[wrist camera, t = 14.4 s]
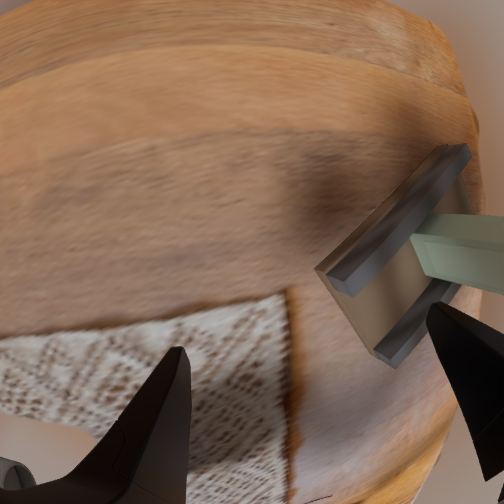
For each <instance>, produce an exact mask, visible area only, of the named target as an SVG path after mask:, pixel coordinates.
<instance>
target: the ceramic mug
mask: <svg viewBox="0 0 504 504" xmlns="http://www.w3.org/2000/svg"><path fill="white" fill-rule="evenodd" d="M32 486H36V482H35V479H34V477H33V475H32V474H31V472H30V471H29V469H28V468H27V467H26V466H25V465H23V464H21V463H19V462H16V461H12V460H9V459H5V458H3V457H0V487H1V488H3V489H6V490H19V489H23V488H28V487H32Z"/></svg>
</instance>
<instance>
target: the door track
mask: <svg viewBox="0 0 504 504" xmlns="http://www.w3.org/2000/svg"><path fill="white" fill-rule="evenodd" d="M471 157H472V156H471V153H470V151H469V148H468V146H467V143H464V144H458V145H452V146H448V144H445V145H440V146H437V147H436V148H435V149H434V150H433V152H432V153H431V154H430V155H429V156H428V157H427V158H426V159H425V160H424V161H423V162H422V163H421V164H420V166H419V167H418V168H417V169H416V170H415V171H414V172H413V173H412V174H411V175H410V176H409V177H408V178H407V179H406V180H405V181H404V182H403V183H402V184H401V185H400V186H399V187H398V188H397V189H396V190H395V192H394V193H393V194H392V195H391V196H390V197H389V198H388V199H387V200H386V201H385V202H384V203H383V204H382V205H381V206H380V207H379V208H378V209H377V210H376V211H375V212H374V213H373V214H372V215H371V216H369V217H368V218H367V219H366V220H365V221H364V222H363V223H362V224H361V225H360V226H359V227H358V228H357V229H356V230H355V231H354V232H353V233H352V234H351V235H350V236H349V237H348V238H347V239H346V240H345V241H344V242H342V243H341V244H340V245H339V246H338V247H337V248H336V249H335V250H334V251H333V252H332V253H331V254H330V255H329V256H328V257H326V258H325V259H324V260H323V261H322V262H321V263H320V264H319V265H318V266H317V267H316V268H314V270H315V271H316V272H317V274H318V275H319V277H320V278H321V280H322V281H323V283H324V284H325V286H326V287H327V289H328V290H329V292H330V293H331V295H332V296H333V298H334V299H335V301H336V302H337V304H338V305H339V307H340V308H341V310H342V311H343V313H344V314H345V316H346V317H347V319H348V320H349V322H350V323H351V325H352V326H353V328H354V329H355V331H356V333H357V334H358V336H359V337H360V339H361V340H362V342H363V343H364V345H365V347H366V348H367V350H368V351H369V353H370V354H371V355H373V356H374V357H376V358H377V359H379V360H382V361H383V362H385V363H386V364H388V365H389V366H391V367H393V368H394V369H396V368H397V367H398V366H399V365H400V364H401V363H402V362H403V361H404V359H405V358H406V357H407V356H408V355H409V354H410V353H411V351H412V350H413V349H414V348H415V347H416V345H417V344H418V343H419V342H420V341H421V339H422V338H423V337H424V336H425V335H426V333H427V332H428V329H427V326H426V316H427V313H428V310H429V307H430V305H431V304H432V303H434V302H437V301H442V302H444V303H446V304H449V303H450V301H451V300H452V298H453V297H454V295H455V294H456V292H457V291H458V290H459V288H460V286H461V285H462V284H459V283H455V282H451V281H447V280H443V279H439V278H435V277H431V276H427V275H425V273H424V271H423V268H422V266H421V263H420V261H419V259H418V256H417V254H416V251H415V249H414V247H413V245H412V242H411V240H410V237H411V235H412V234H413V233H414V232H415V231H416V229H417V228H418V227H419V226H420V225H421V223H422V222H423V221H424V220H425V219H426V217H427V216H428V215H429V214H430V213H438V214H464V215H475V213H474V210H473V207H472V204H471V201H470V198H469V195H468V193H467V190H466V187H465V184H464V182H463V179H462V176H461V174H460V173H461V171H462V170H463V168H464V167H465V166H466V164H467V163H468V161H469V160H470V158H471Z"/></svg>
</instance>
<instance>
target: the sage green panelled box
mask: <svg viewBox="0 0 504 504" xmlns="http://www.w3.org/2000/svg"><path fill="white" fill-rule="evenodd" d="M410 240H411V242H412V245H413V247H414V249H415V251H416V254H417V256H418V259H419V261H420V263H421V266H422V268H423V271H424V273H425V275H427V276H431V277H435V278H439V279H443V280H447V281H451V282H455V283H459V284H463V285H467V286H470V287H474V288H478V289H482V290H486V291H490V292H494V293H497V294H501V295H504V217H502V216H485V215H464V214H438V213H430V214H429V215H428V216H427V217H426V219H425V220H424V221H423V222H422V223H421V225H420V226H419V227H418V228H417V229H416V231H415V232H414V233H413V234H412V235H411V237H410Z"/></svg>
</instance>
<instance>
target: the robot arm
mask: <svg viewBox="0 0 504 504" xmlns="http://www.w3.org/2000/svg"><path fill="white" fill-rule="evenodd" d="M426 326H427V329H428V332H429V334H430V337H431V339H432V342H433V345H434V347H435V350H436V353H437V355H438V358H439V360H440V362H441V364H442V366H443V369H444V371H445V373H446V375H447V377H448V380H449V382H450V384H451V386H452V389H453V391H454V393H455V396H456V398H457V401H458V403H459V405H460V408H461V410H462V413H463V416H464V418H465V421H466V423H467V426H468V429H469V432H470V435H471V437H472V440H473V444H474V447H475V449H476V453H477V456H478V459H479V463H480V466H481V469H482V473H483V477H484V479H485V481H488V480H490V479H491V478H493V477H494V476H496V475H497V474H499V473H500V472H502V471H503V470H504V334H502V333H501V332H499V331H497V330H495V329H493V328H491V327H489V326H488V325H486V324H484V323H482V322H480V321H478V320H476V319H475V318H473V317H471V316H469V315H467V314H465V313H463V312H461V311H459V310H457V309H455V308H453V307H451V306H449V305H448V304H446V303H444V302H442V301H437V302H434V303H432V304H431V305H430V307H429V310H428V313H427V316H426ZM191 409H192V399H191V367H190V362H189V359H188V357H187V354H186V352H185V349H184V348H183V347H182V346H177V347H171V348H170V349H169V350H168V352H167V353H166V354H165V356H164V357H163V358H162V360H161V361H160V362H159V364H158V365H157V366H156V368H155V369H154V370H153V372H152V373H151V374H150V376H149V377H148V378H147V380H146V381H145V382H144V384H143V385H142V386H141V388H140V389H139V390H138V392H137V393H136V394H135V396H134V397H133V398H132V400H131V401H130V403H129V404H128V405H127V407H126V408H125V409H124V411H123V412H122V413H121V415H120V416H119V417H118V420H116V421H115V423H114V424H113V425H112V427H111V428H110V429H109V431H108V432H107V433H106V434H105V436H104V437H103V438H102V439H101V440H100V442H99V443H98V444H97V445H96V446H95V447H94V448H93V449H92V450H91V452H90V453H89V454H88V455H87V456H86V457H85V458H84V459H83V460H82V461H81V462H80V463H79V464H78V465H77V466H76V467H75V468H74V469H73V470H72V471H71V472H70V473H69V474H67V475H66V476H64V477H63V478H60V479H57V480H54V481H50V482H47V483H44V484H40V485H36V486H32V487H28V488H23V489H19V490H6V489H3V488H1V487H0V504H185V503H186V481H187V464H188V448H189V435H190V422H191ZM498 504H504V484H503V487H502V490H501V493H500V496H499V499H498Z"/></svg>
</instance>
